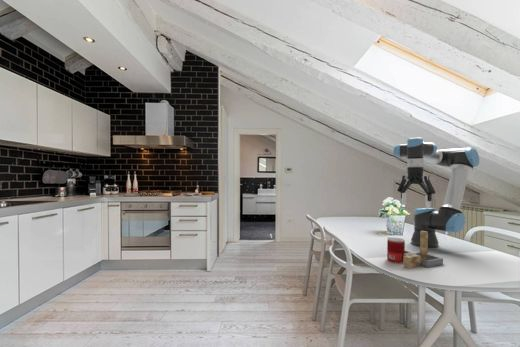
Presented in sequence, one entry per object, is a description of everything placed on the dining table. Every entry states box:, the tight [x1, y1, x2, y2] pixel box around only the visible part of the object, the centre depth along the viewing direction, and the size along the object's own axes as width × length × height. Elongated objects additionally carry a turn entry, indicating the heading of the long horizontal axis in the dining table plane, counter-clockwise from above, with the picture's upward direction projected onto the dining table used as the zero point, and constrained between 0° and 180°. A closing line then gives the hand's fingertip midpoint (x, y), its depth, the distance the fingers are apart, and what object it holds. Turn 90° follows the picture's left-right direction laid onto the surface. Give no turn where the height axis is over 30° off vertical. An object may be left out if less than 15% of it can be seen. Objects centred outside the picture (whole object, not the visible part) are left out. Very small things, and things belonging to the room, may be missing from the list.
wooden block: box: [402, 254, 421, 269], centre depth 136 cm, size 8×3×5 cm, turn 114°
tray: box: [405, 251, 444, 268], centre depth 142 cm, size 12×12×3 cm
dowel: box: [419, 231, 429, 261], centre depth 142 cm, size 3×3×15 cm
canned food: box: [386, 237, 406, 264], centre depth 145 cm, size 8×8×11 cm
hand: (415, 205), depth 153 cm, fingers open, 13 cm apart
